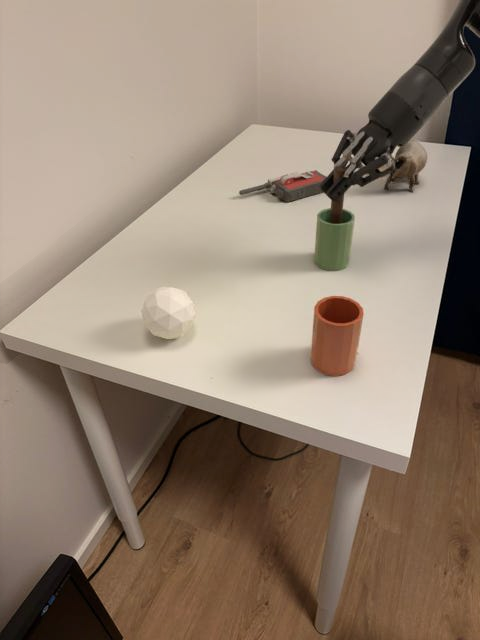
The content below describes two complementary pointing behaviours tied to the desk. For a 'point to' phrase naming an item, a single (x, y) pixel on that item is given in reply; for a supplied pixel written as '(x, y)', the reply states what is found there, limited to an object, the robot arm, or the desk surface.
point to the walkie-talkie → (292, 185)
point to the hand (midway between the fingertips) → (326, 194)
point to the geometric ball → (168, 312)
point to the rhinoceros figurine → (407, 164)
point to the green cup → (333, 241)
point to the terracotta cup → (336, 335)
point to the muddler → (338, 205)
